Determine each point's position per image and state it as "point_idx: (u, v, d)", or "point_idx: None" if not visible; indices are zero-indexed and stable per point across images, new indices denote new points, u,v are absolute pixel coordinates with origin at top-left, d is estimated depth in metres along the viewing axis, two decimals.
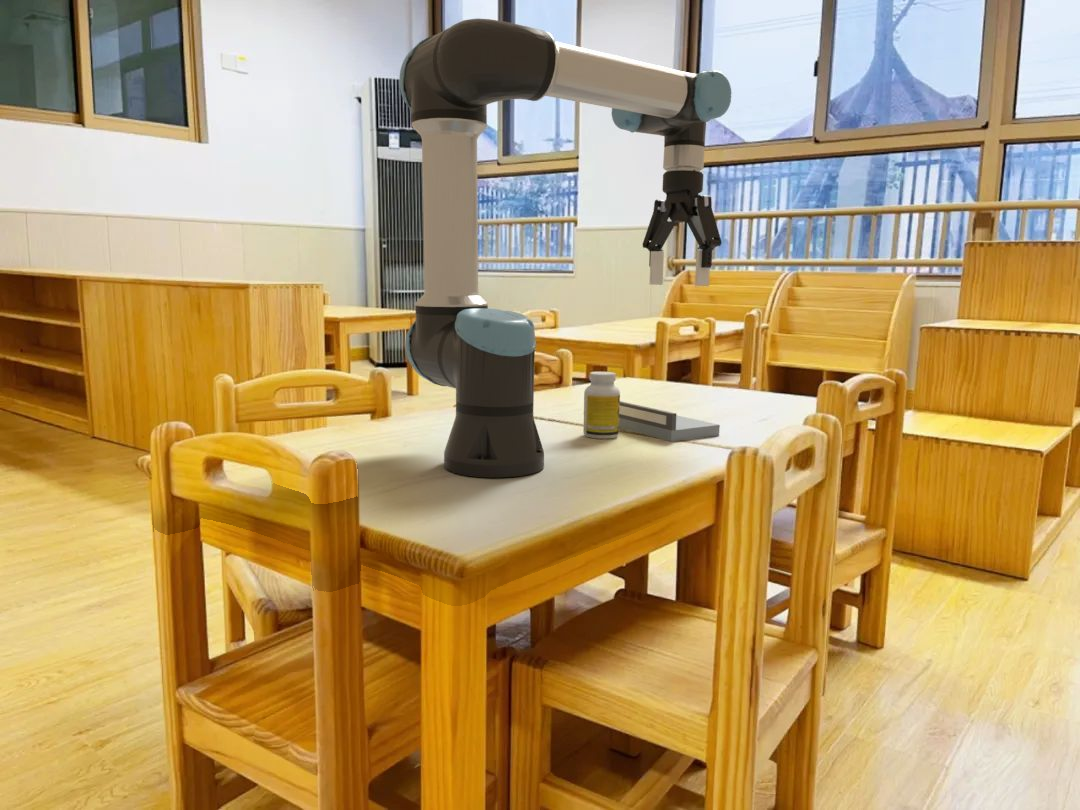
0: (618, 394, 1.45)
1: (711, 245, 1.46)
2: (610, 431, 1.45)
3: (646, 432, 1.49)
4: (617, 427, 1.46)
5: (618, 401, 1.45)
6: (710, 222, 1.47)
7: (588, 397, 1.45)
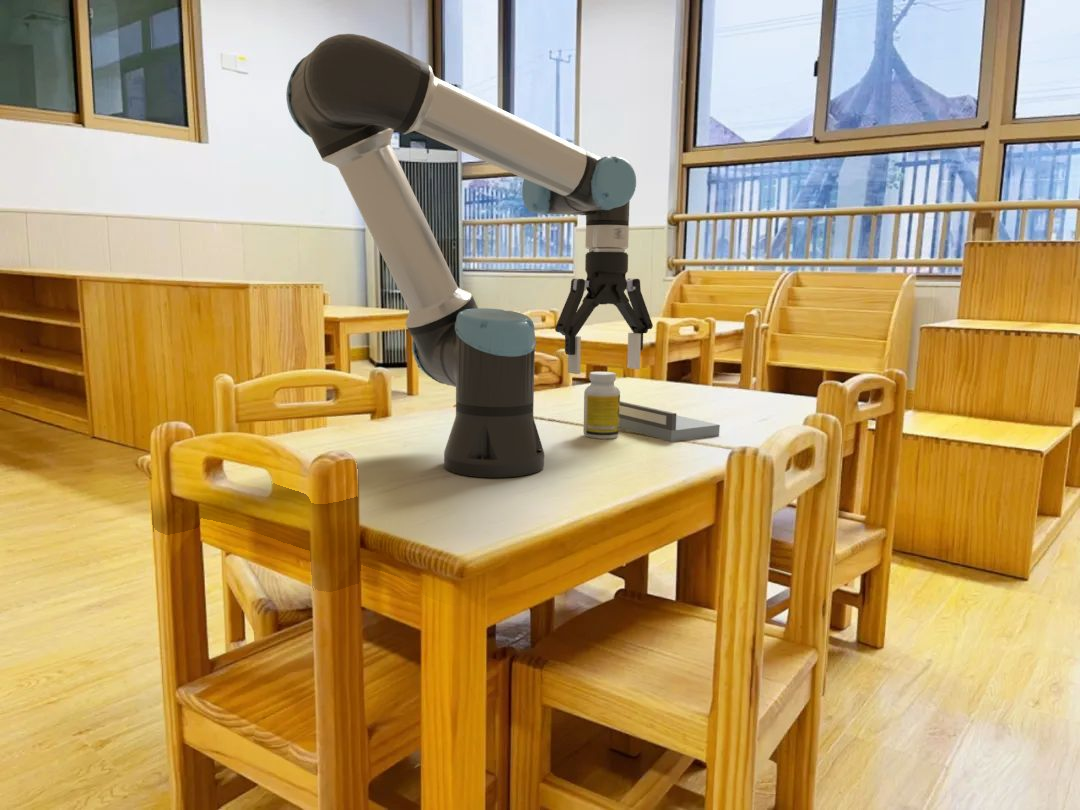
0: (618, 394, 1.45)
1: None
2: (610, 431, 1.45)
3: (646, 432, 1.49)
4: (617, 427, 1.46)
5: (618, 401, 1.45)
6: (567, 307, 1.40)
7: (588, 397, 1.45)
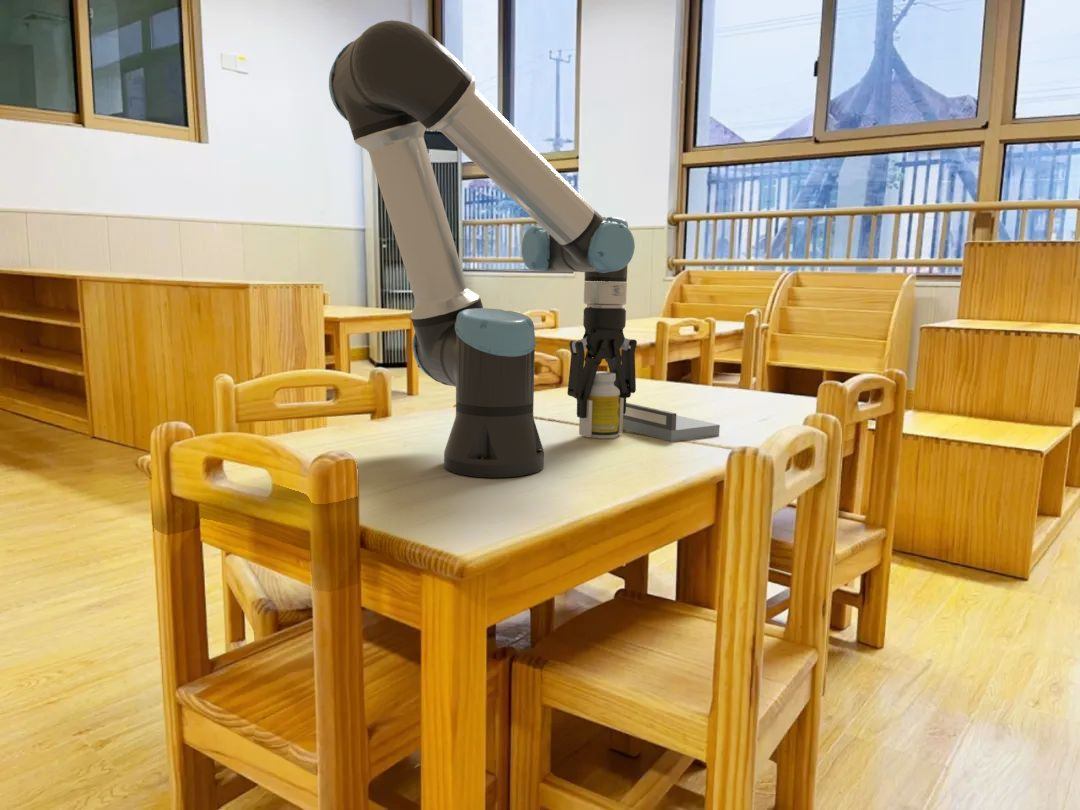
0: (618, 394, 1.45)
1: None
2: (610, 431, 1.45)
3: (646, 432, 1.49)
4: (617, 427, 1.46)
5: (618, 401, 1.45)
6: (573, 372, 1.42)
7: None
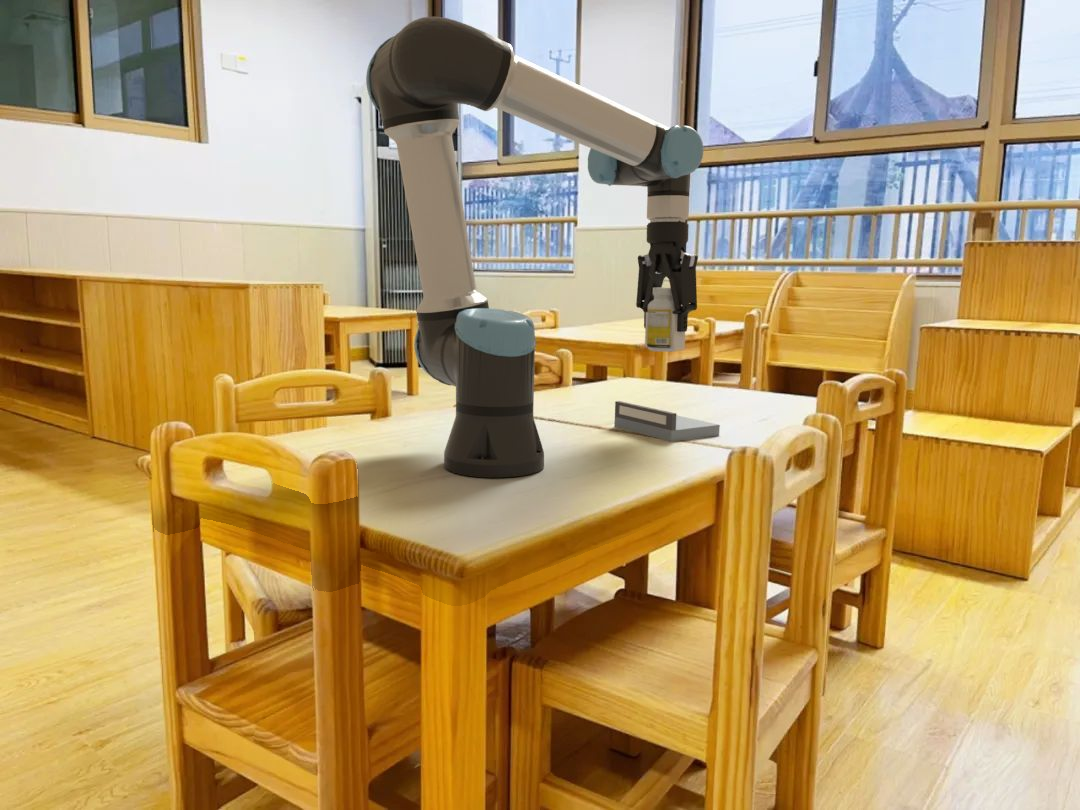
0: None
1: (685, 310, 1.44)
2: None
3: (646, 432, 1.49)
4: None
5: None
6: (690, 285, 1.44)
7: None
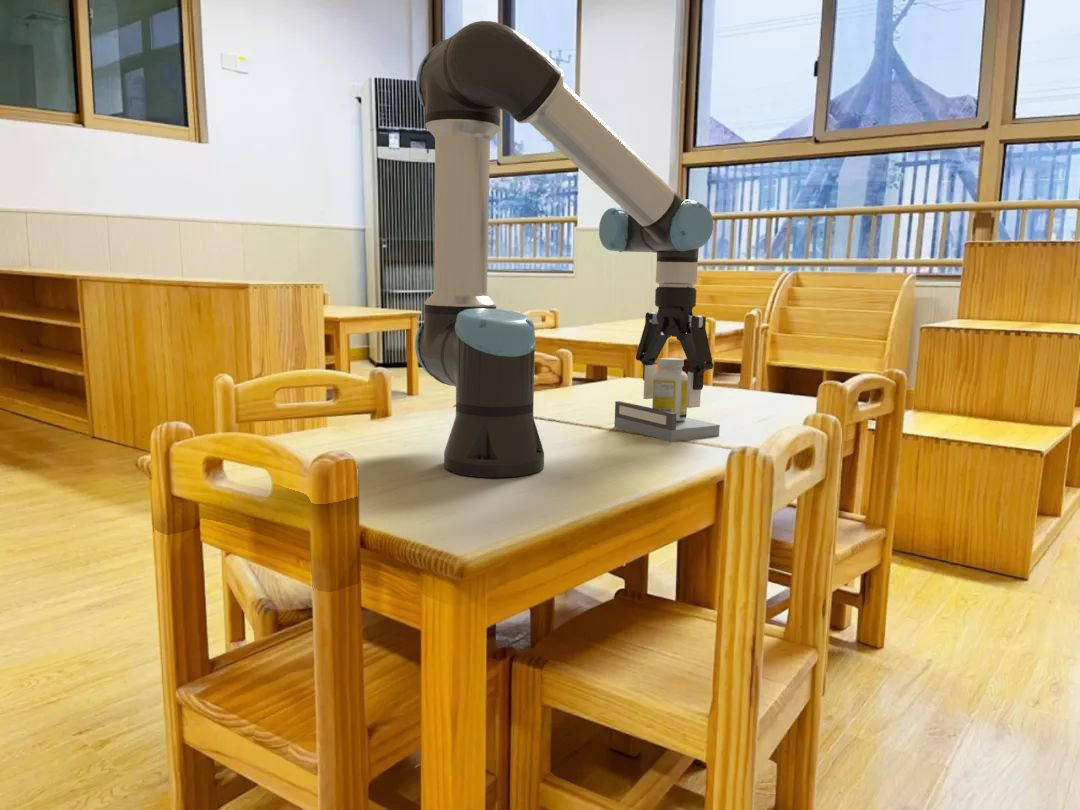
0: None
1: (702, 369, 1.45)
2: None
3: (646, 432, 1.49)
4: None
5: None
6: (703, 345, 1.45)
7: (682, 382, 1.51)
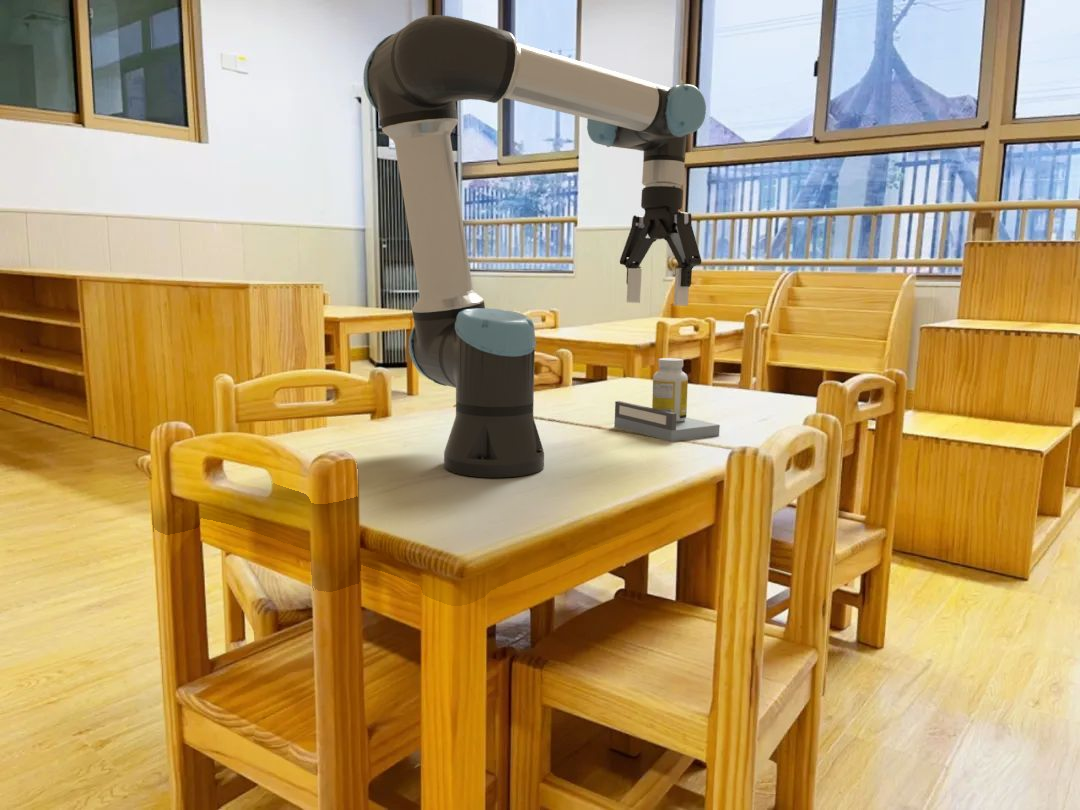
0: None
1: (690, 264, 1.42)
2: None
3: (646, 432, 1.49)
4: None
5: None
6: (690, 240, 1.43)
7: (682, 383, 1.50)
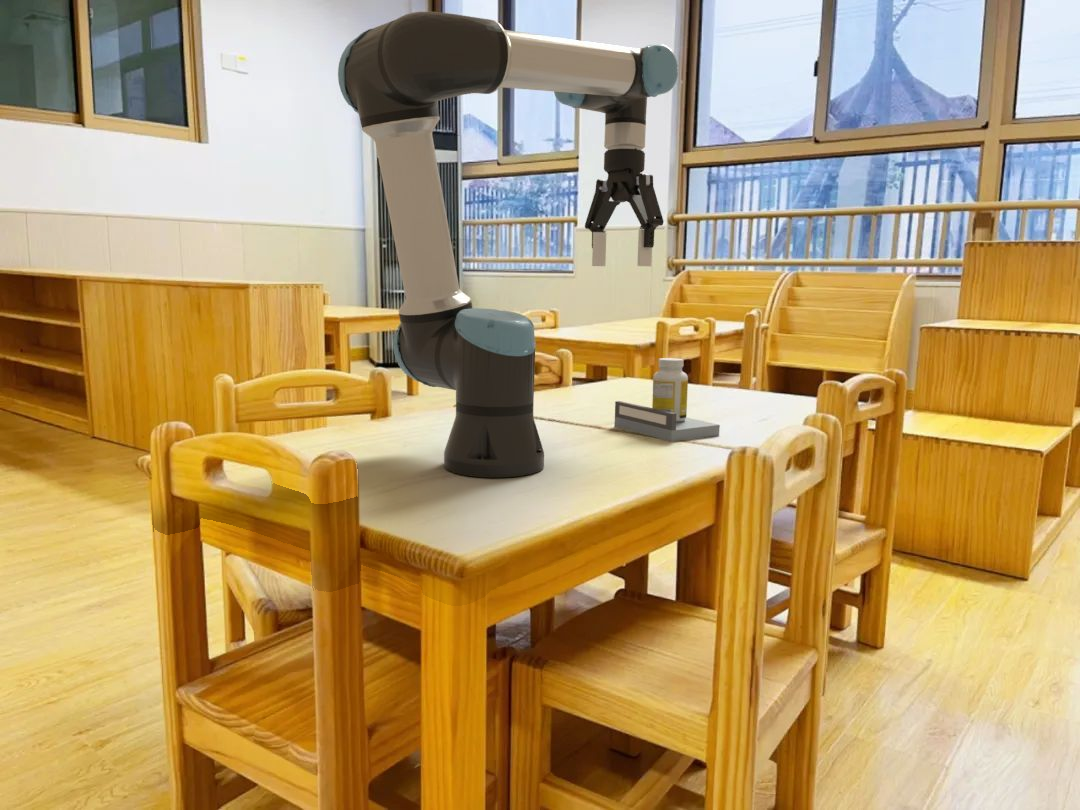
0: None
1: (653, 224, 1.44)
2: None
3: (646, 432, 1.49)
4: None
5: None
6: (652, 201, 1.45)
7: (682, 382, 1.50)
